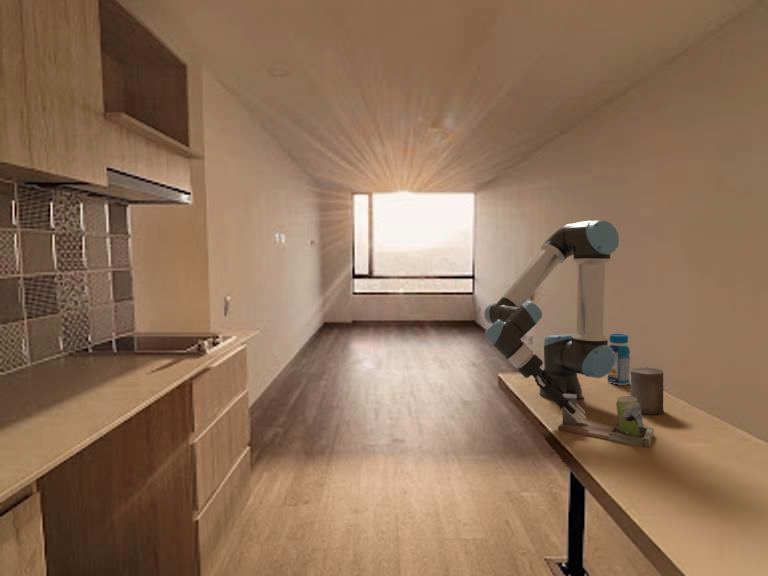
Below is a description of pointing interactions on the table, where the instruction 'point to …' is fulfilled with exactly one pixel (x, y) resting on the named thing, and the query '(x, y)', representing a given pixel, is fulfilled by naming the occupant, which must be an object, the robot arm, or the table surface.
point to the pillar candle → (648, 389)
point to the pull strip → (600, 428)
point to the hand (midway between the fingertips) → (582, 417)
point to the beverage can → (630, 416)
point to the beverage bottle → (620, 360)
